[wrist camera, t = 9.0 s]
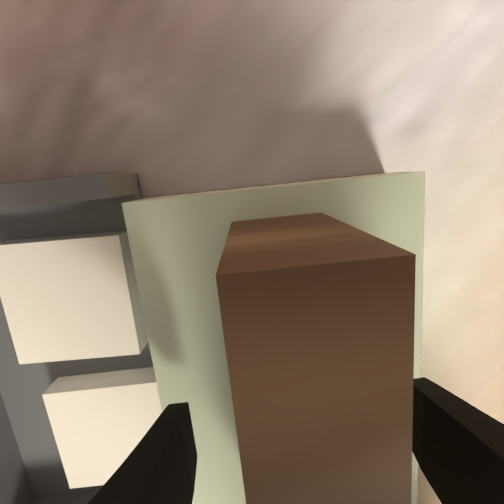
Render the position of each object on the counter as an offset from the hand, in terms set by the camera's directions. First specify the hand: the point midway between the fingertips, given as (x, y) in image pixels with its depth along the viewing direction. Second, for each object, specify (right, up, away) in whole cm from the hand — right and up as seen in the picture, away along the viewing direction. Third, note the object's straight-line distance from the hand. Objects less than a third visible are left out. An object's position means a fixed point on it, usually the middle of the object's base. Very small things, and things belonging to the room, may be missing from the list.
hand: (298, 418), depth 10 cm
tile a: (-8, -3, +5) cm, 10 cm away
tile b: (-9, +3, +4) cm, 10 cm away
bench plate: (0, +1, +5) cm, 5 cm away
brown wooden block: (0, +1, +2) cm, 2 cm away
